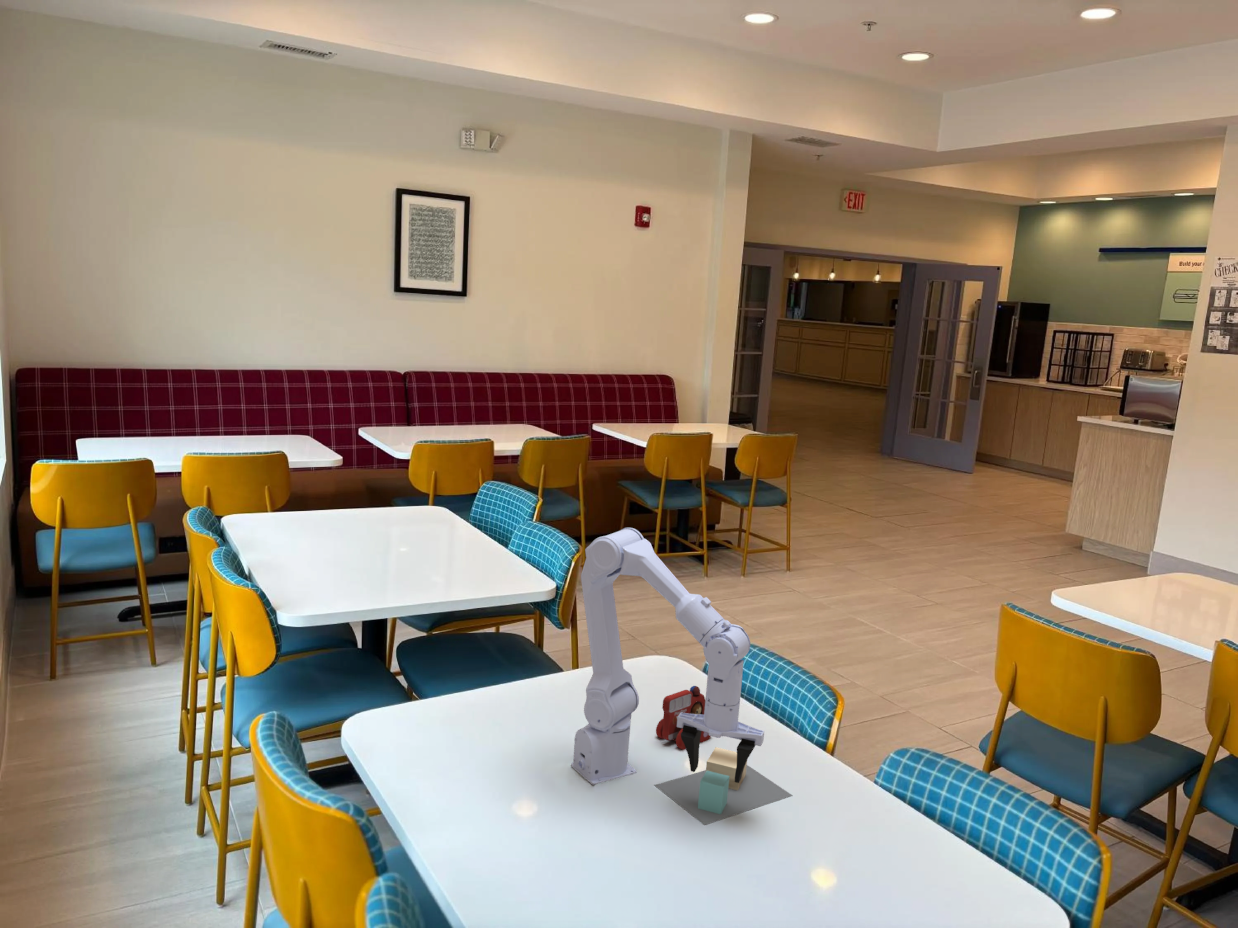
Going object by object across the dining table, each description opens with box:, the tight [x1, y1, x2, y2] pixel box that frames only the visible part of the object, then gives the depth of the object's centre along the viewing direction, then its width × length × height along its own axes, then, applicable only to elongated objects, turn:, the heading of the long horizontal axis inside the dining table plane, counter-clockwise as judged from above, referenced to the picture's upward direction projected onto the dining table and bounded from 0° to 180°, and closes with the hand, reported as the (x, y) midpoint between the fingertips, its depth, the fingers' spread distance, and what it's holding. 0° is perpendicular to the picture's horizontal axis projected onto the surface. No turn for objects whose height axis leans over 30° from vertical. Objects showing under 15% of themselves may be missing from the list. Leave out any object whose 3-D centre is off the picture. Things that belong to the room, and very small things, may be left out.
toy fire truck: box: [655, 685, 712, 751], centre depth 182 cm, size 7×12×10 cm, turn 133°
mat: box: [653, 764, 793, 826], centre depth 164 cm, size 20×14×1 cm
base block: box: [705, 746, 748, 790], centre depth 168 cm, size 6×6×4 cm
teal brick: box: [698, 771, 729, 814], centre depth 158 cm, size 4×4×5 cm
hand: (715, 774), depth 158 cm, fingers open, 7 cm apart
